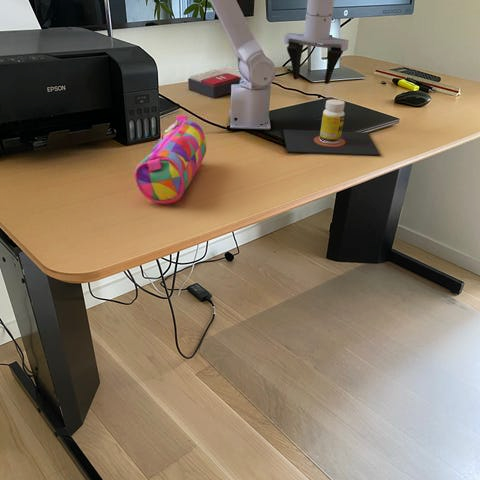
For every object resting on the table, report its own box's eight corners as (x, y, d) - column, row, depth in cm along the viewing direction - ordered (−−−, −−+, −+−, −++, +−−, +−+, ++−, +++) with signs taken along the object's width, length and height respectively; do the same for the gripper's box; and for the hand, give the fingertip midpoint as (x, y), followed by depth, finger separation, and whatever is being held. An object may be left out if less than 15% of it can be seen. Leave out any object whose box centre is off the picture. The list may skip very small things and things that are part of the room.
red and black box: (187, 75, 142) (225, 65, 150) (188, 91, 145) (225, 80, 153) (213, 84, 136) (252, 72, 144) (214, 100, 139) (252, 88, 147)
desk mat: (287, 152, 109) (287, 150, 109) (283, 131, 120) (283, 128, 120) (379, 156, 109) (380, 153, 109) (367, 134, 120) (367, 131, 120)
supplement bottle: (339, 145, 112) (346, 105, 107) (318, 143, 113) (323, 103, 108) (340, 138, 116) (346, 99, 111) (320, 136, 117) (325, 97, 111)
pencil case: (162, 158, 104) (159, 113, 98) (207, 161, 103) (207, 116, 98) (134, 205, 87) (129, 154, 81) (188, 210, 87) (187, 158, 81)
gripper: (355, 15, 113) (345, 81, 121) (293, 9, 117) (288, 72, 125) (347, 19, 108) (337, 87, 116) (283, 12, 112) (278, 79, 120)
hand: (311, 80), depth 120 cm, fingers open, 7 cm apart
